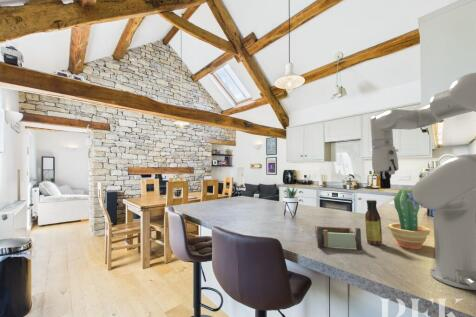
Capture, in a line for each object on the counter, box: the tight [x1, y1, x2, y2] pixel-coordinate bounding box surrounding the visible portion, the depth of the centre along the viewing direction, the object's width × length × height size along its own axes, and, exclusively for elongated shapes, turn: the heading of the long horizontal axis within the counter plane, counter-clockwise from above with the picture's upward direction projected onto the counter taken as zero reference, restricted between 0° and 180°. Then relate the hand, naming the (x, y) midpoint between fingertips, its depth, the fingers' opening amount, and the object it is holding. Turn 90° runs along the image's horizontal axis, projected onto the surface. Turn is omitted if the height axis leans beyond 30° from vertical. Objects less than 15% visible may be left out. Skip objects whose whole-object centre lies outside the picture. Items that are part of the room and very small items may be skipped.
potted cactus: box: [387, 188, 431, 250], centre depth 99 cm, size 15×15×25 cm
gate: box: [323, 230, 356, 250], centre depth 97 cm, size 12×2×7 cm, turn 75°
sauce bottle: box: [364, 199, 383, 246], centre depth 103 cm, size 6×6×20 cm
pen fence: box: [314, 225, 362, 251], centre depth 104 cm, size 18×18×9 cm
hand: (385, 188), depth 91 cm, fingers closed
